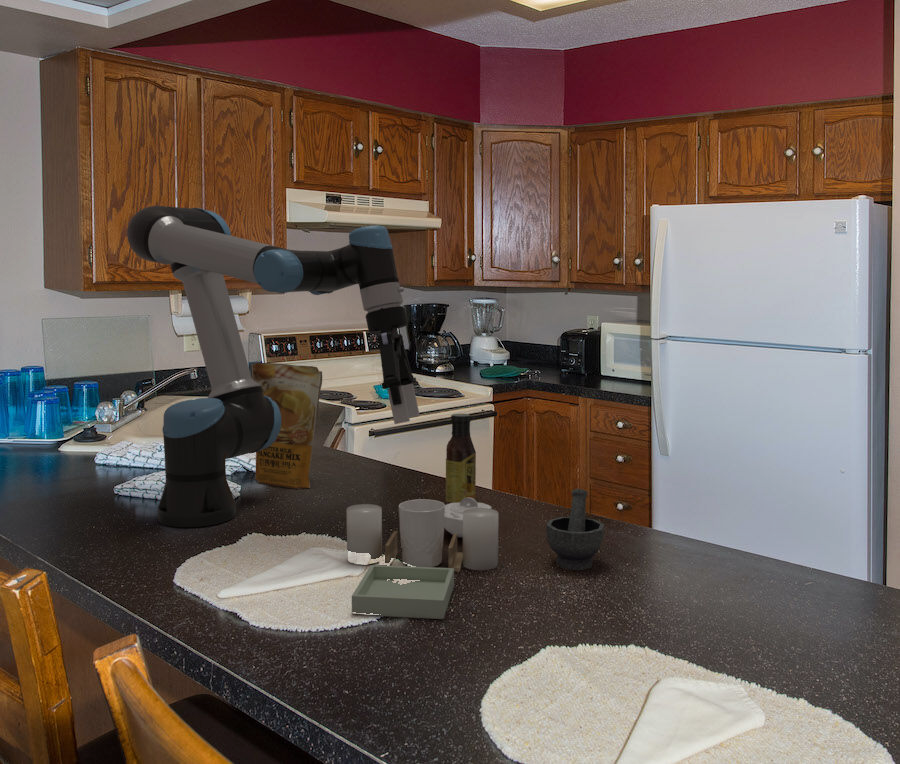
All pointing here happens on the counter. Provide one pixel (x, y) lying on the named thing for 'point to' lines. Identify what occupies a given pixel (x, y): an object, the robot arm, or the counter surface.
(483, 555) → the white pillar candle
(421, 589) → the tray
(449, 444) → the sauce bottle
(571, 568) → the mortar and pestle
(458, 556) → the rack
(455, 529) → the cell model
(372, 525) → the grey tapered cylinder
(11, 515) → the counter surface
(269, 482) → the pancake mix bag
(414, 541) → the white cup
